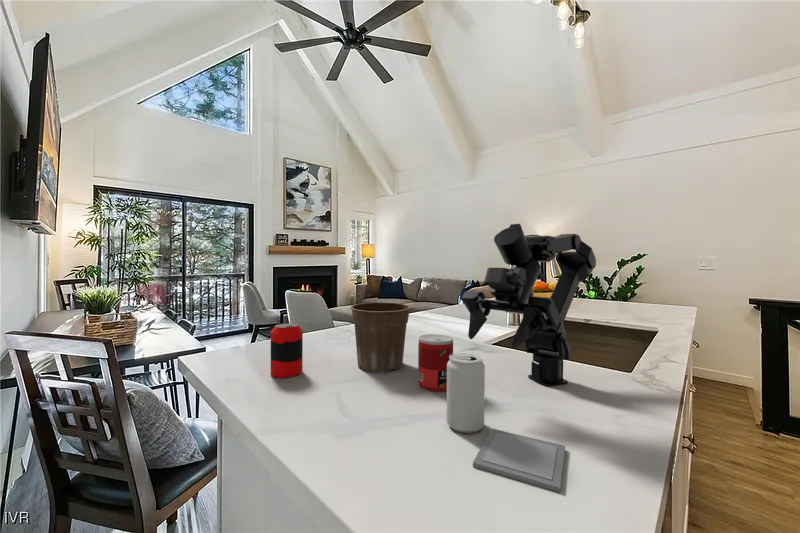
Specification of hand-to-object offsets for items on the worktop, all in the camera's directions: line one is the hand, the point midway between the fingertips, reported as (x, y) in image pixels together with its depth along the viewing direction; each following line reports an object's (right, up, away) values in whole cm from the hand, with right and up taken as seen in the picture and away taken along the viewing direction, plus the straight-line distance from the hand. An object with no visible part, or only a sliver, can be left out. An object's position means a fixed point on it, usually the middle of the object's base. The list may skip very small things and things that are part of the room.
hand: (490, 342), depth 65 cm
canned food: (-9, -13, +14) cm, 21 cm away
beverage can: (-6, -14, -5) cm, 16 cm away
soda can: (-45, -13, +22) cm, 52 cm away
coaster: (+1, -14, -15) cm, 20 cm away
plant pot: (-22, -13, +28) cm, 38 cm away
